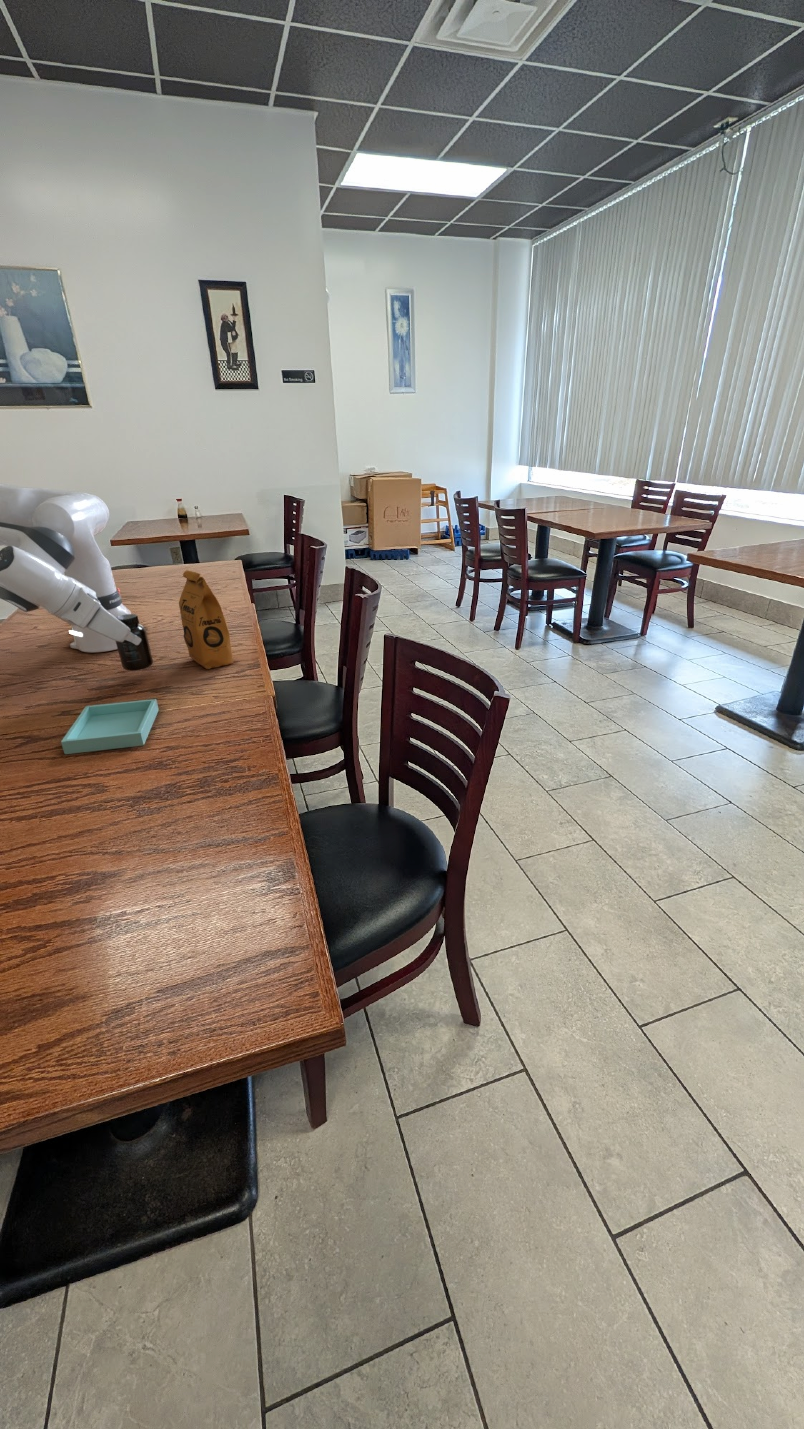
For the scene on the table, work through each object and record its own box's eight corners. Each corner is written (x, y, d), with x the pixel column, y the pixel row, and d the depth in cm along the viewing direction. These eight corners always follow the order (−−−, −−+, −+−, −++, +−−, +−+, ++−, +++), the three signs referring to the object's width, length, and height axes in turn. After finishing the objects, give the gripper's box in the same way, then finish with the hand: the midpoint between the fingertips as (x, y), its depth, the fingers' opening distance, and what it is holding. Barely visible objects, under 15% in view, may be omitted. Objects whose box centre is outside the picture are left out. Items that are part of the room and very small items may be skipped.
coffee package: (198, 673, 140) (180, 581, 130) (185, 658, 149) (167, 571, 140) (239, 663, 145) (224, 574, 135) (224, 650, 154) (209, 566, 144)
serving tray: (89, 717, 119) (85, 705, 118) (158, 710, 122) (156, 698, 120) (64, 754, 106) (60, 741, 104) (143, 745, 108) (140, 732, 107)
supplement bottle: (159, 662, 140) (148, 613, 135) (139, 672, 134) (127, 622, 129) (136, 659, 142) (125, 611, 137) (115, 669, 136) (102, 620, 131)
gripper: (58, 606, 133) (114, 638, 143) (78, 626, 118) (139, 660, 128) (74, 584, 133) (129, 617, 143) (96, 601, 119) (155, 636, 128)
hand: (134, 637), depth 135 cm, fingers closed on supplement bottle, 7 cm apart
